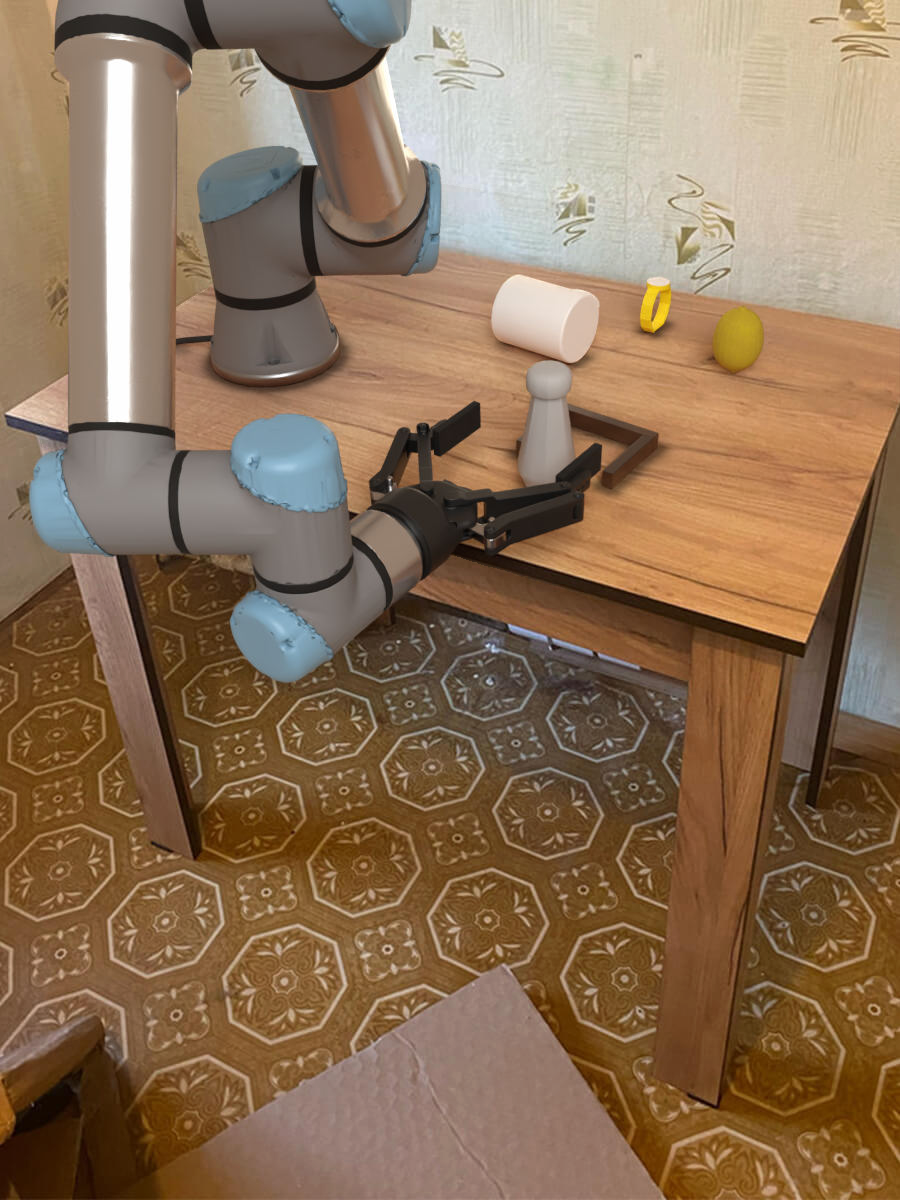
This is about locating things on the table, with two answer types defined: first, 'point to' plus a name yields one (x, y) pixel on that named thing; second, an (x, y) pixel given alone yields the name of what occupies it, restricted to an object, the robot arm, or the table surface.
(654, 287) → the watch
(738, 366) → the lemon
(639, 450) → the walnut stop
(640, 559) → the table surface
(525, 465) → the salt shaker
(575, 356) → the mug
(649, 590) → the table surface
